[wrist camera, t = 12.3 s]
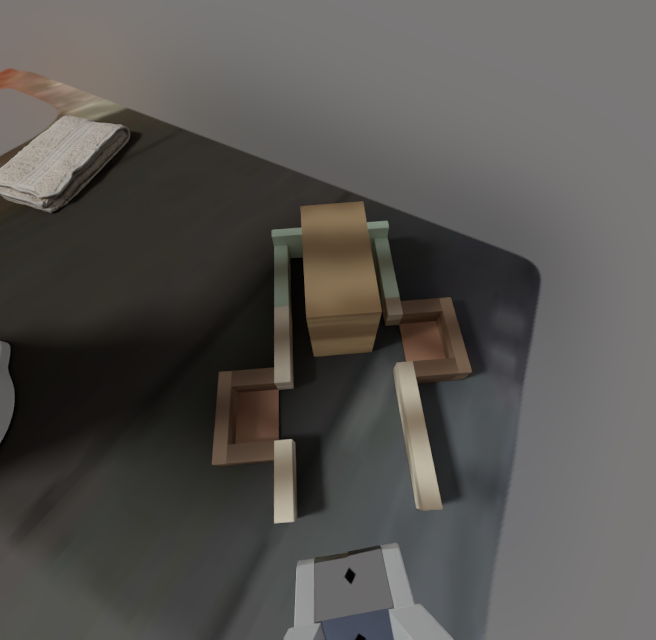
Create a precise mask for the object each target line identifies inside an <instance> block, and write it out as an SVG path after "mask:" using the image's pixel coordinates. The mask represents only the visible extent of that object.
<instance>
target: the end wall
mask: <svg viewBox="0 0 656 640" xmlns="http://www.w3.org/2000/svg"><path fill="white" fill-rule="evenodd" d="M367 227H368V233H369V239H370V245H371V251H373V244H374V238H381V237H387V236H388V231H389V225H388V221H378V222H367ZM272 240H273V244H274V246H281V245H287V246H288V251H289V255H290V258H300V257H303V245H302V228H290V229H277V230H272Z"/></svg>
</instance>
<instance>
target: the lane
mask: <svg viewBox="0 0 656 640" xmlns="http://www.w3.org/2000/svg"><path fill="white" fill-rule="evenodd" d="M372 253H373V259H374V265H375V270H376V276H377V282H378V288H379V294H380V300H381V305H382V311H383V317H384V323H385V326H391V325H399V328H400V333H401V338H402V343H403V348H404V354H405V359H406V362H397V363H396V365H395V367H394V369H393V375H394V381H395V387H396V393H397V398H398V404H399V410H400V416H401V422H402V428H403V433H404V439H405V445H406V451H407V457H408V462H409V468H410V474H411V480H412V486H413V492H414V497H415V503H416V508H417V509H420V510H423V511H425V510H437V509H443V508H442V503H441V498H440V493H439V488H438V483H437V478H436V473H435V469H434V464H433V459H432V454H431V449H430V444H429V439H428V434H427V429H426V424H425V419H424V414H423V410H422V405H421V400H420V395H419V390H418V385H417V383H429V382H441V381H453V380H463V379H464V378H466V377H467V376H468V375H469V374H470V373H472V369H471V366H470V362H469V359H468V356H467V352H466V349H465V345H464V342H463V338H462V335H461V331H460V328H459V324H458V321H457V317H456V314H455V310H454V307H453V303H452V300H451V297H446V298H433V299H421V300H409V301H400V297H399V292H398V287H397V282H396V277H395V272H394V267H393V262H392V257H391V252H390V247H389V242H388V238H387V237H381V238H374V244H373V251H372ZM283 389H294V376H293V340H292V304H291V268H290V255H289V251H288V246H287V245H281V246H274V367H273V368H261V369H249V370H237V371H224V372H219V378H218V391H217V403H216V416H215V429H214V441H213V454H212V465H216V466H229V465H241V464H253V463H265V462H274V523H284V522H294V521H295V520H296V519H297V483H296V447H295V441H293V440H292V439H287V440H279V390H283Z"/></svg>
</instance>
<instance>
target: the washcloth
mask: <svg viewBox="0 0 656 640" xmlns="http://www.w3.org/2000/svg"><path fill="white" fill-rule="evenodd" d="M129 139H130V130H129V129H128V128H127V127H126V126H122V125H115V124H111V123H98V122H94V121H92V120H87V119H84V118H80V117H74V116H64V117H62V118H61V119H59V120H58V121H57V122H55V123H54V124H53V125H52V126H51V127H50V128H49V129H47V131H45V132H43V133H41V135H39V136H38V137H37V138H35V139H34V140H33V141H32V142H30V144H29V145H28V146H26V147H24V148H23V150H22V151H20V152H18V154H17V155H15V157H14V158H12V159H11V160H10V161H9V162H7V163H6V164H5V165H4V166H2V168H0V195H1V196H2V197H4V198H5V199H6V200H9V201H12V202H15V203H18V204H23V205H28V206H30V207H33V208H36V209H40V210H43V211H46V212H51V213H52V212H55V211H56V210H58V209H59V208H60V207H62V206H64V205H66V204H67V203H68V201H70V200H71V199H72V198H73V197H75V196H76V195H77V194H78V193H79V192H80V191H81V190H82V189H83V188H84V187H85V185H87V184H88V182H90V180H91V179H92V178H94V176H95V175H96V174H97V173H98V172H99V171H100V170H101V169H102V168H103V167H104V166H105V165H106V164H107V163H108V162H109V161H110V160H111V159H112V158H113V157H114V156H115V155H116V153H118V151H120V150H121V149H122V148H123V146H124V145H125V144H126V143H127V142H128V141H129Z"/></svg>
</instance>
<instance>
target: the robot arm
mask: <svg viewBox="0 0 656 640" xmlns="http://www.w3.org/2000/svg"><path fill="white" fill-rule="evenodd" d="M9 358H10V345H9V344H8V343H6V342H3V341H0V443H1V441H2V439H3V437H4V436H5V433H6V431H7V429H8V427H9V424H10V421H11V418H12V414H13V410H14V403H15V393H14V386H13V383H12V380H11V377H10V375H9V371H8V364H9ZM283 640H454V639H453V638H452V637H451V636H450V635H449V634H448V633H447V631H446V630H445V629H444V628H443V627H442V626H441V625H440V624H439V623H438V622H437V621H436V620H435V618H434V617H433V616H432V615H431V614H430V613H429V612H428V611H427V610H426V609H425V608H424V607H423V606H422V604H415V602H414V598H413V594H412V591H411V587H410V584H409V580H408V577H407V573H406V570H405V566H404V562H403V559H402V555H401V552H400V548H399V545H398V544H397V542H396V543H391V544H386V545H381V547H380V545H378V546H373V547H369V548H364V549H359V550H354V551H349V552H348V553H342V554H336V555H330V556H324V557H317V558H311V559H306V560H300V561H298V564H297V570H296V595H295V619H294V627H293V628H289V629H288V631H287V633H286V635H285V637H284V639H283Z"/></svg>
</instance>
